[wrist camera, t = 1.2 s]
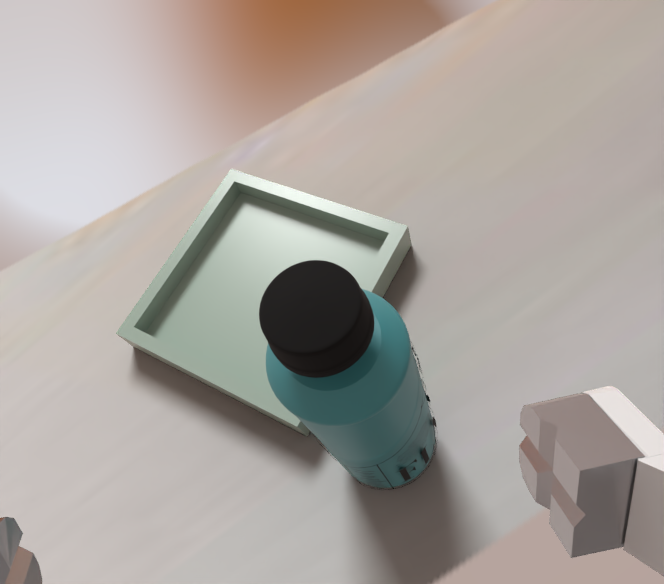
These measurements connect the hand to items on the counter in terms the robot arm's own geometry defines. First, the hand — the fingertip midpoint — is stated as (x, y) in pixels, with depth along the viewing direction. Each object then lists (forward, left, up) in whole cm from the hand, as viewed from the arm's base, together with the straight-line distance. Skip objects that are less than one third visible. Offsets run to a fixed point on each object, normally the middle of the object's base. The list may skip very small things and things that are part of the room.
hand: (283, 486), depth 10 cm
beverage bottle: (-6, -6, -29) cm, 30 cm away
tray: (-12, -19, -29) cm, 36 cm away
